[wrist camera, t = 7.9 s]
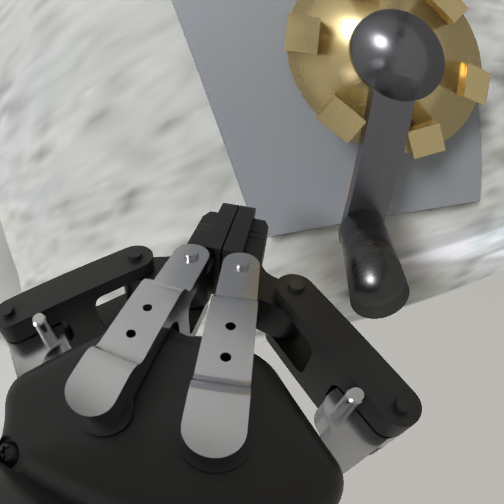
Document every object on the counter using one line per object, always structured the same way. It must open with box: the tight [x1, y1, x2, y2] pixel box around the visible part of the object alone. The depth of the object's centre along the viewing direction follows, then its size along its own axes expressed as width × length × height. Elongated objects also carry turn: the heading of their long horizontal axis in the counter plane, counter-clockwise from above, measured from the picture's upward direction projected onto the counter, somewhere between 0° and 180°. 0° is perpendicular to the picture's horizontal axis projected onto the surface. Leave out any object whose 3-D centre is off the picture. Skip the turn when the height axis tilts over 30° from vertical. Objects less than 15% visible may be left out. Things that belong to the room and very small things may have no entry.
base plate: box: [172, 0, 481, 237], centre depth 14 cm, size 16×20×2 cm
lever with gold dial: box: [284, 0, 491, 319], centre depth 10 cm, size 15×10×8 cm, turn 175°
